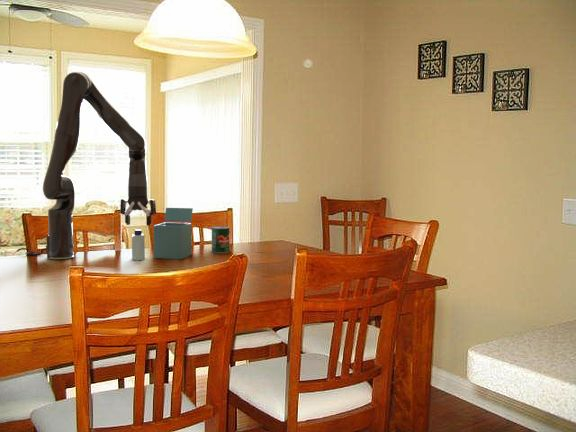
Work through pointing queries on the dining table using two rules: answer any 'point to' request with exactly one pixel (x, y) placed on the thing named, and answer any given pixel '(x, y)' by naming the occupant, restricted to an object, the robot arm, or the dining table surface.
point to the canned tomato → (220, 239)
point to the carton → (172, 240)
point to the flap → (178, 214)
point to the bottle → (138, 245)
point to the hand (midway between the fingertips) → (138, 225)
